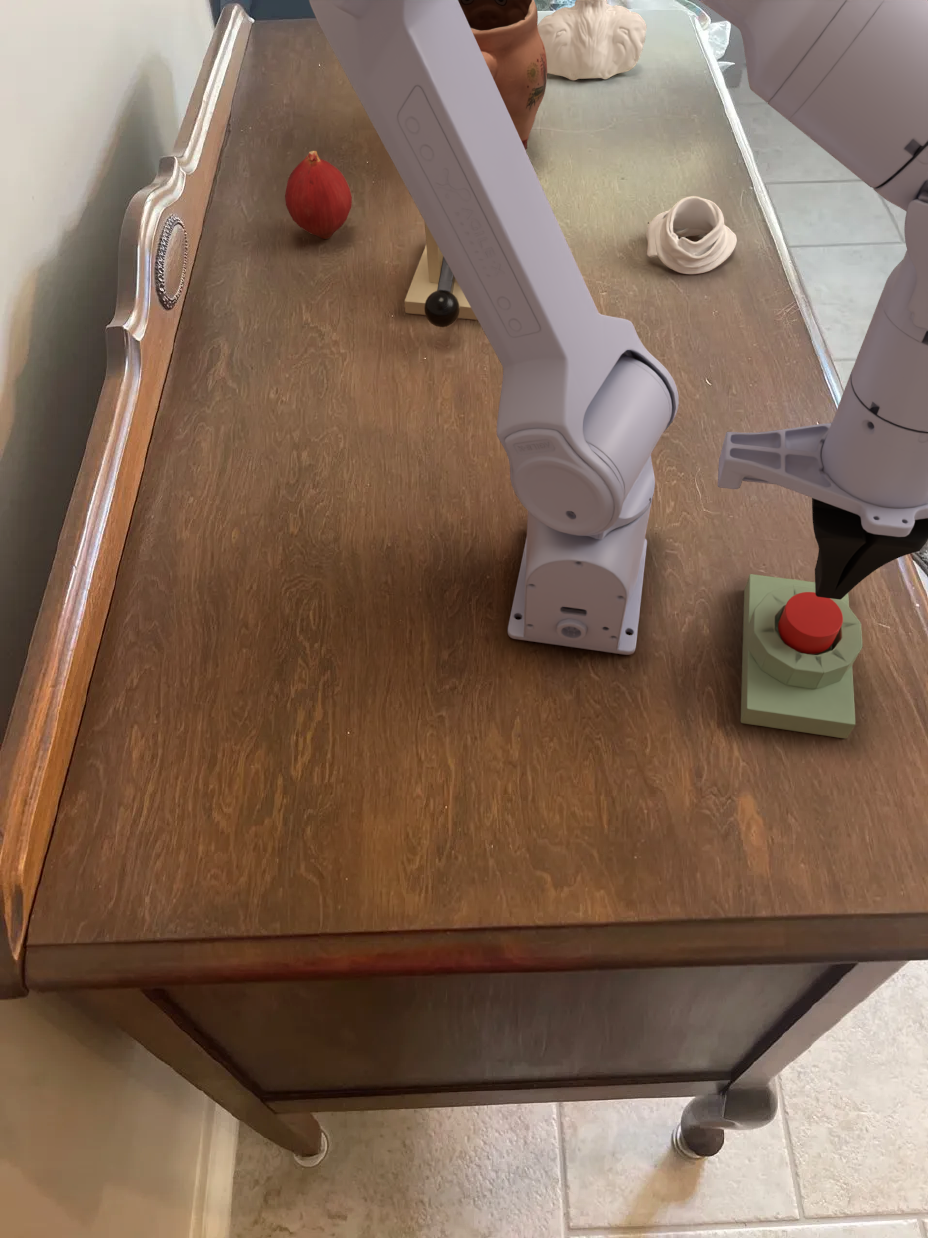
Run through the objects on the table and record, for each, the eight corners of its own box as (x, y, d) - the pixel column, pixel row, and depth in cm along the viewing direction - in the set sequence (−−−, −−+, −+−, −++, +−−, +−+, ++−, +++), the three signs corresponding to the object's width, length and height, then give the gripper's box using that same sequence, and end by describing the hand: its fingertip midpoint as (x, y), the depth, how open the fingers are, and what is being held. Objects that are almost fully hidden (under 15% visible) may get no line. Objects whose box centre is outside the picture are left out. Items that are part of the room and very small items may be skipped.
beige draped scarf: (723, 240, 84) (737, 185, 80) (740, 277, 79) (755, 222, 76) (637, 238, 83) (646, 183, 80) (648, 275, 79) (659, 220, 75)
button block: (847, 739, 53) (867, 708, 50) (739, 723, 54) (752, 692, 51) (840, 602, 59) (858, 567, 56) (743, 589, 60) (755, 555, 57)
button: (835, 657, 53) (844, 640, 51) (777, 649, 53) (785, 632, 52) (833, 613, 54) (842, 595, 53) (777, 606, 55) (785, 588, 53)
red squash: (281, 245, 84) (262, 159, 78) (315, 213, 87) (300, 127, 81) (334, 261, 82) (320, 174, 76) (368, 228, 85) (357, 141, 79)
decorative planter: (553, 213, 86) (561, 51, 74) (423, 220, 86) (411, 60, 74) (534, 108, 97) (538, -45, 86) (419, 115, 97) (408, -38, 86)
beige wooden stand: (498, 321, 77) (498, 223, 69) (405, 313, 78) (395, 215, 71) (517, 252, 82) (519, 155, 75) (430, 245, 83) (423, 148, 76)
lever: (458, 334, 74) (454, 317, 71) (424, 331, 74) (419, 314, 71) (481, 202, 76) (478, 180, 73) (448, 199, 76) (443, 177, 73)
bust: (639, 86, 104) (641, -30, 101) (650, 67, 97) (654, -59, 93) (533, 90, 104) (532, -25, 101) (536, 71, 97) (536, -54, 94)
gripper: (743, 433, 38) (689, 624, 49) (1124, 474, 36) (978, 663, 47) (746, 327, 42) (695, 525, 53) (1090, 358, 40) (962, 557, 51)
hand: (828, 583), depth 50 cm, fingers closed
